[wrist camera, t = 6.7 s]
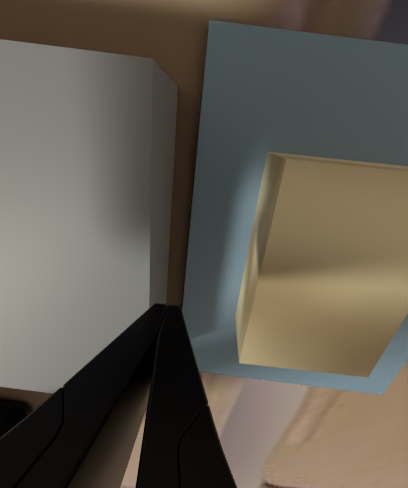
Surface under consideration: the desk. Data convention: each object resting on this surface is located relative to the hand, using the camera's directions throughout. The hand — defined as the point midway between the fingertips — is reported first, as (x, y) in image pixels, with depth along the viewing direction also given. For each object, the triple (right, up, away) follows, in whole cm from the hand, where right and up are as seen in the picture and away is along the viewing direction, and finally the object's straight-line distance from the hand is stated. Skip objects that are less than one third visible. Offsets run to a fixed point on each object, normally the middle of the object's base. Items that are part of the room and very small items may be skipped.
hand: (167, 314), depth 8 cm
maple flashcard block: (+6, 0, +1) cm, 6 cm away
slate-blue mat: (+7, +1, +5) cm, 9 cm away
